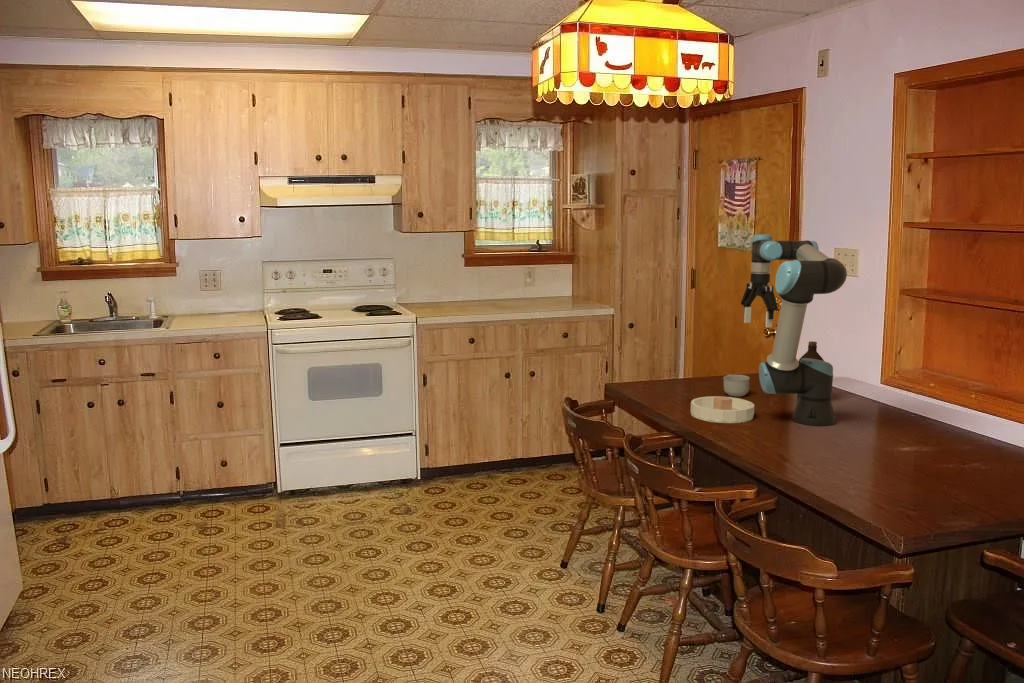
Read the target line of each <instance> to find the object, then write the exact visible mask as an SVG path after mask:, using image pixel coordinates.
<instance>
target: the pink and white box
mask: <svg viewBox="0 0 1024 683" xmlns="http://www.w3.org/2000/svg"><path fill="white" fill-rule="evenodd" d="M728 397H729V396H724V395H723V396H722V397H714V400H713V409H719V410H732V399H730V398H728Z"/></svg>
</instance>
